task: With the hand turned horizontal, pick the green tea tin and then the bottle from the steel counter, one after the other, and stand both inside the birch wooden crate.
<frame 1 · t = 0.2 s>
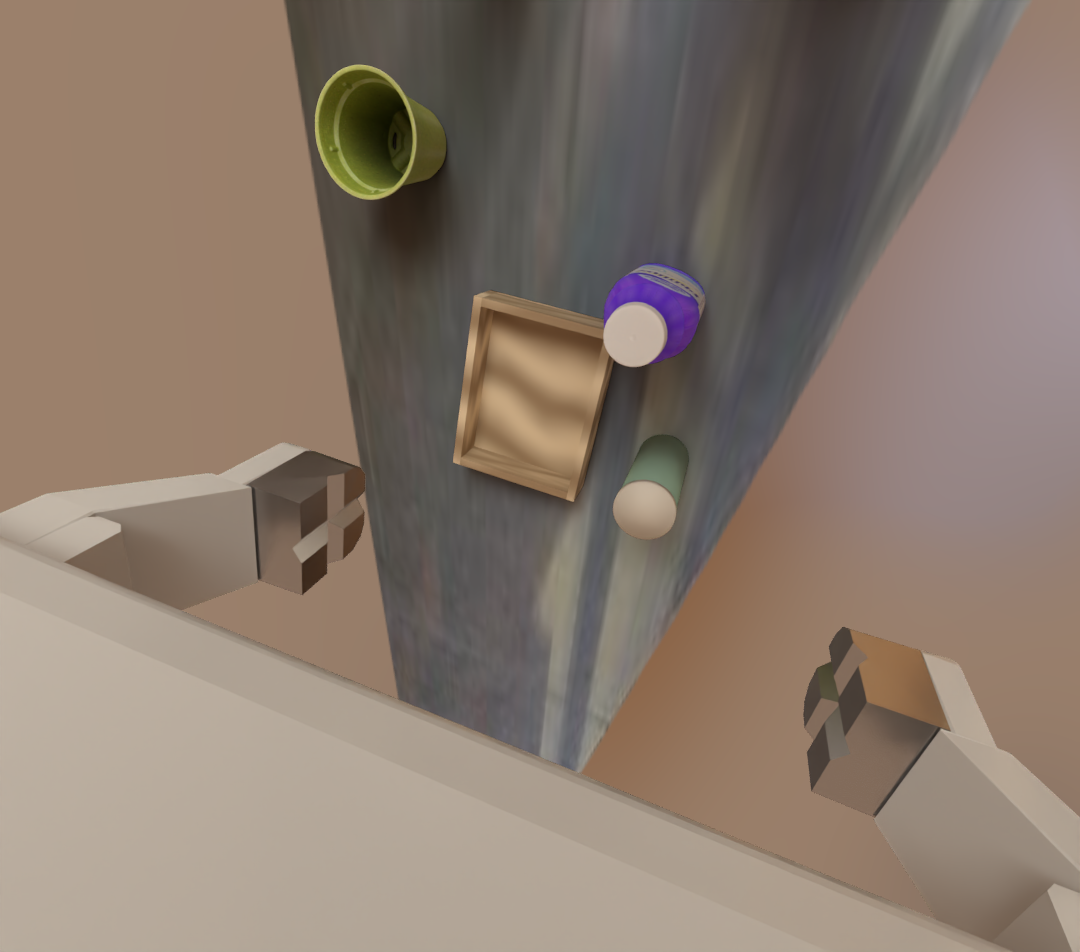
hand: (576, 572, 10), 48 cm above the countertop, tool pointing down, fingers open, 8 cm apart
plant pot: (418, 144, 55), on the countertop
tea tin: (663, 457, 60), on the countertop
crate: (539, 392, 61), on the countertop
bottle: (666, 298, 54), on the countertop
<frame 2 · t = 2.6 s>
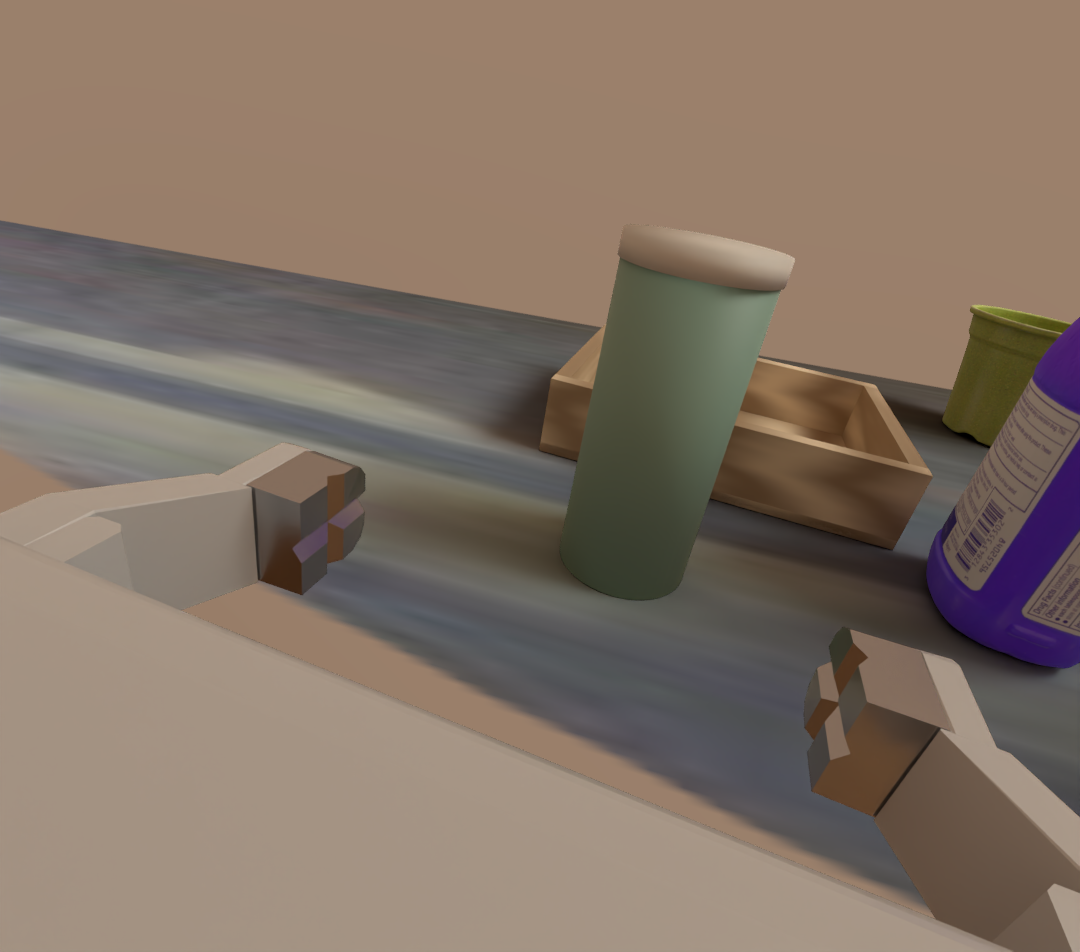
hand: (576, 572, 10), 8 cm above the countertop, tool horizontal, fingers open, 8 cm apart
plant pot: (983, 437, 45), on the countertop
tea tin: (620, 557, 24), on the countertop
crate: (712, 445, 35), on the countertop
bottle: (988, 618, 24), on the countertop
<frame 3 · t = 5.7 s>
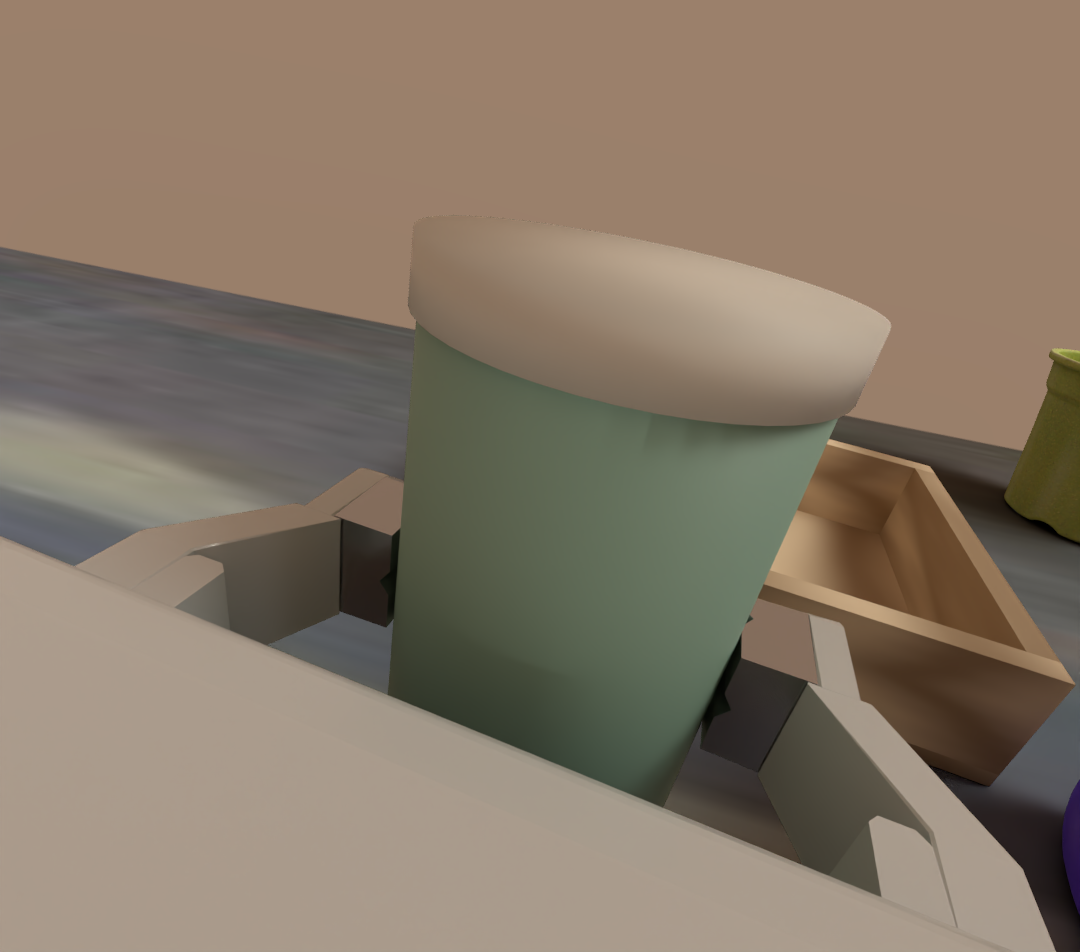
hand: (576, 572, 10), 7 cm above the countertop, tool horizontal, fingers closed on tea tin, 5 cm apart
plant pot: (1060, 524, 34), on the countertop
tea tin: (497, 859, 12), on the countertop, touching gripper
crate: (693, 556, 24), on the countertop
when the fingers open (9 cm above the countertop, at t = 10.8 s): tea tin drops 1 cm, resting on crate.
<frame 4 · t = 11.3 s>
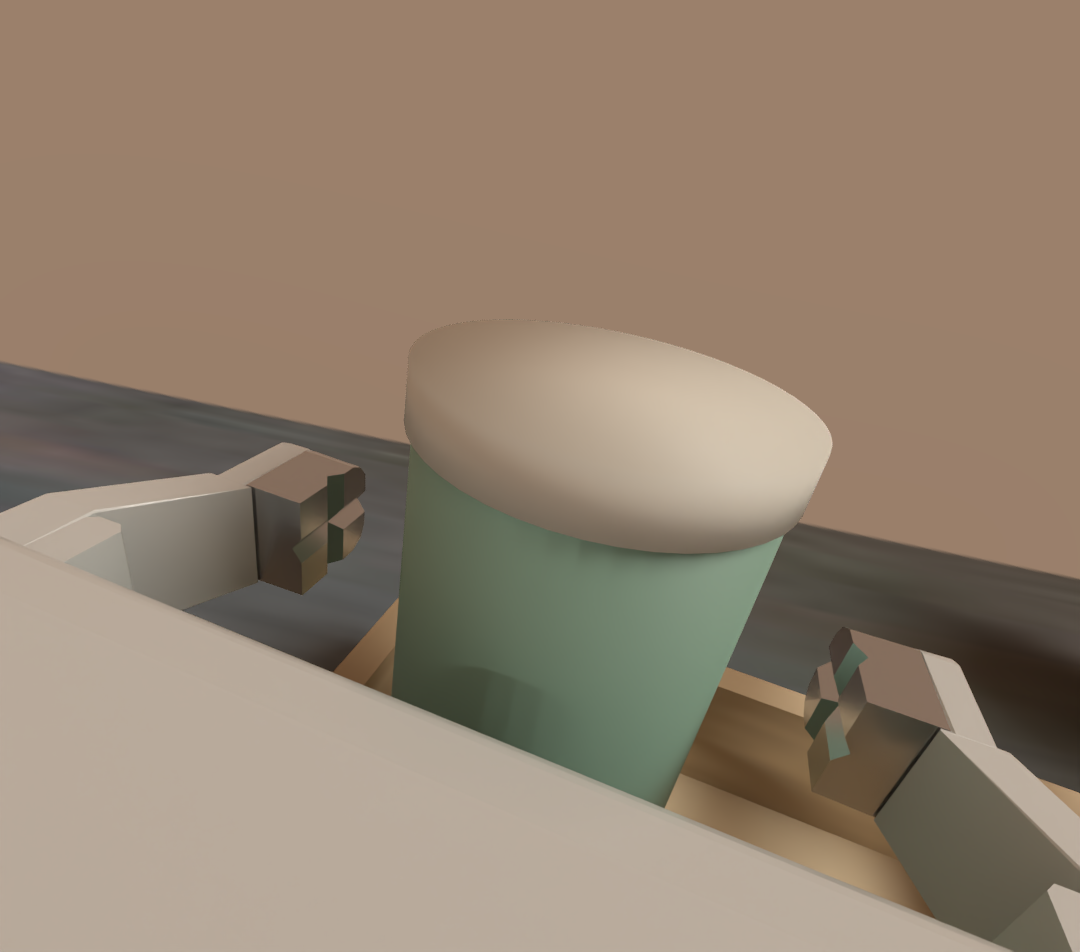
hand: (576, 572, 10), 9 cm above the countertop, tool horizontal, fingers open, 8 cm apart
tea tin: (491, 897, 13), point 1 cm above the countertop, touching crate
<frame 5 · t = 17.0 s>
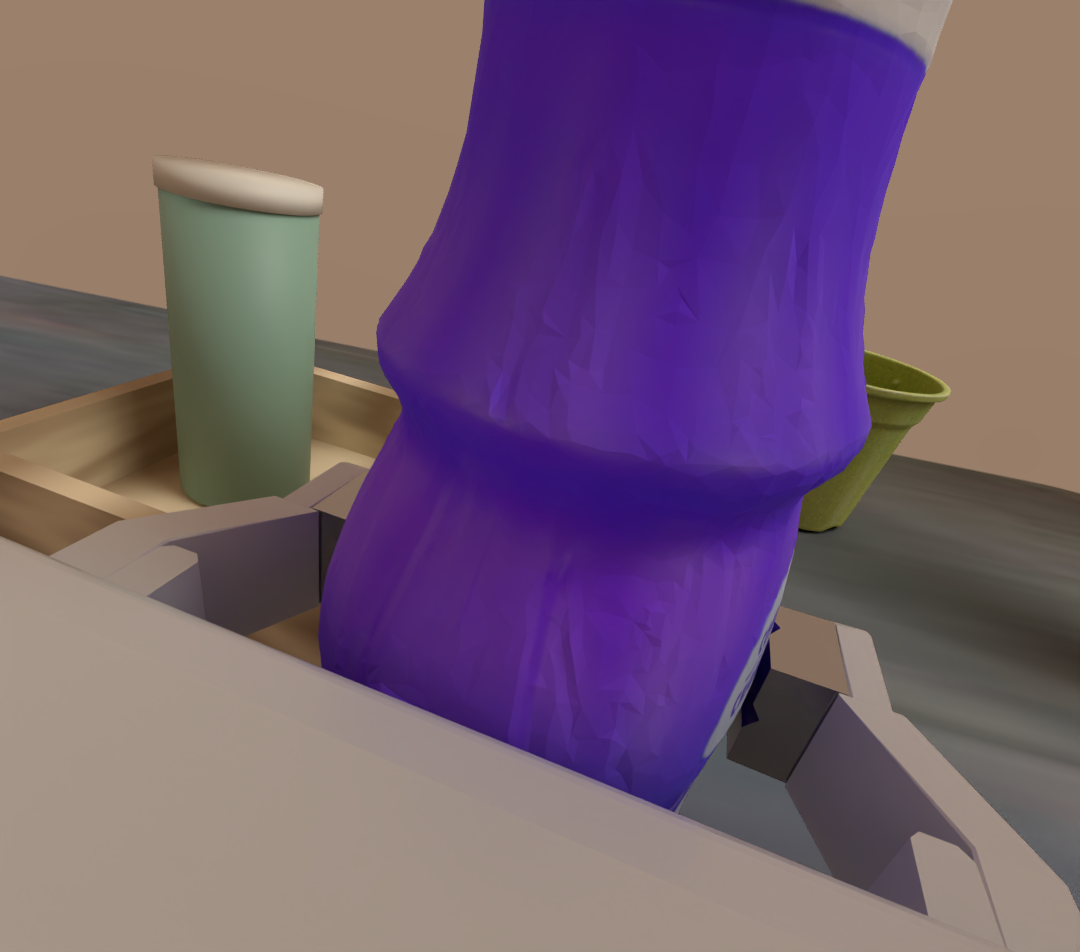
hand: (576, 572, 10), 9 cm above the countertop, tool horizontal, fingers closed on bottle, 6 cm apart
plant pot: (785, 506, 34), on the countertop
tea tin: (248, 479, 26), point 1 cm above the countertop, touching crate
crate: (311, 530, 24), on the countertop
bottle: (485, 914, 13), on the countertop, touching gripper
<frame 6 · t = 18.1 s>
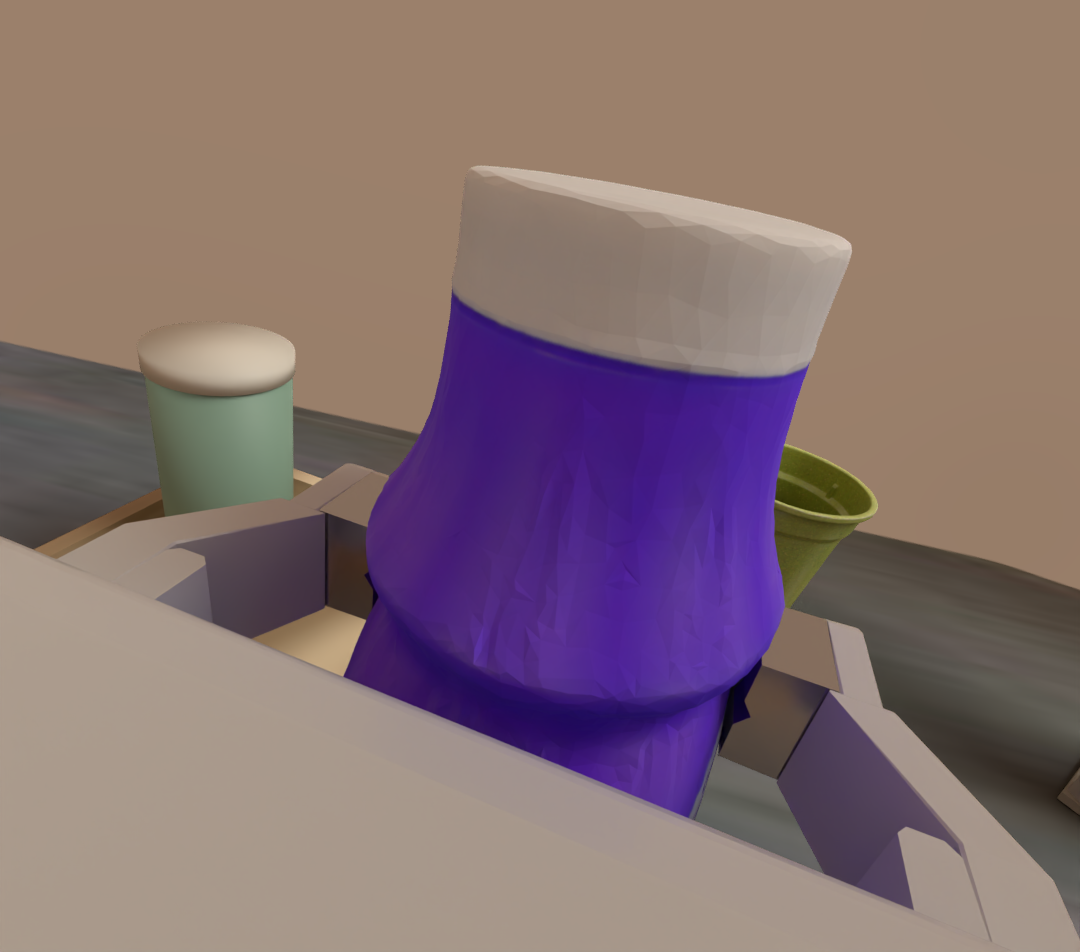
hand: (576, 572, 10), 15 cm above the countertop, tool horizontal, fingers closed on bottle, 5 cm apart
plant pot: (734, 593, 37), on the countertop
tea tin: (237, 586, 28), point 1 cm above the countertop, touching crate
crate: (294, 638, 27), on the countertop
when the fingers open (11 cm above the countertop, at t = 22.3 s): bottle stays where it is, resting on crate.
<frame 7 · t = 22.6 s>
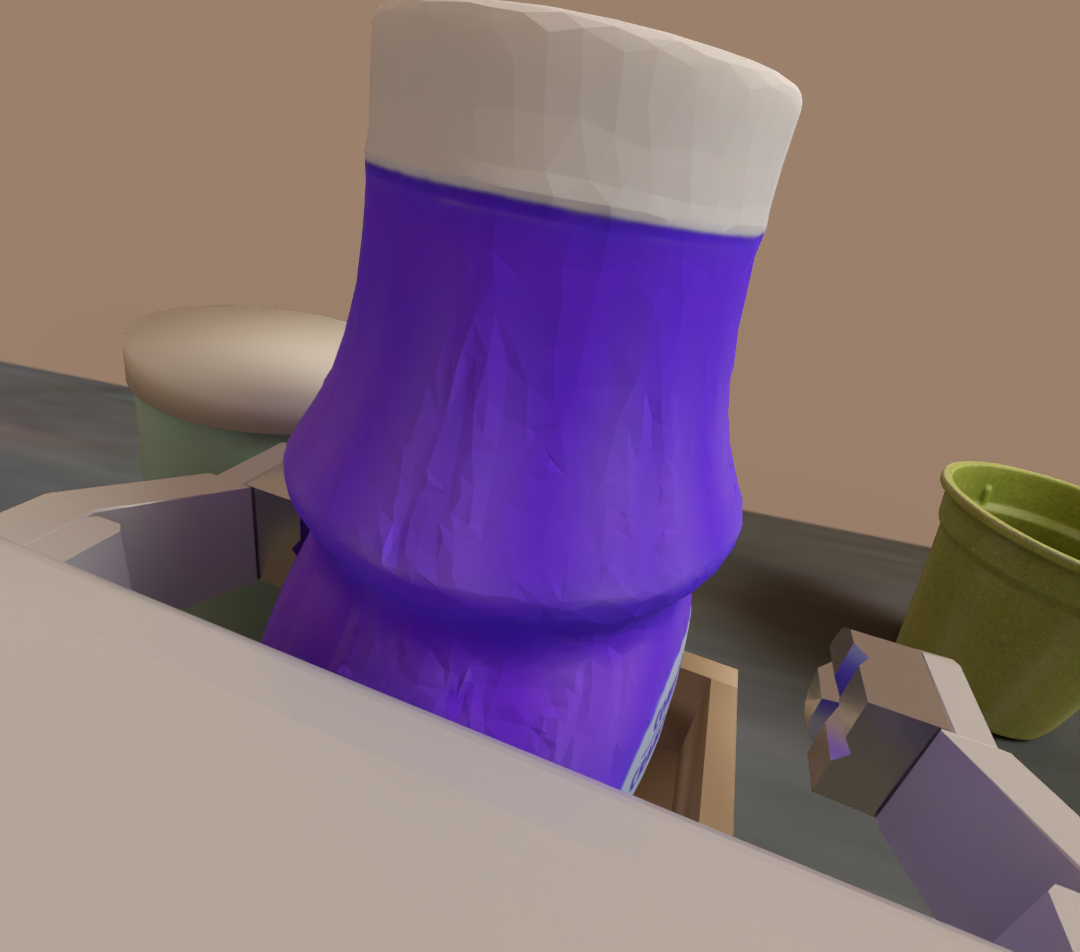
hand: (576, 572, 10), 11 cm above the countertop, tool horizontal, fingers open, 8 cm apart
plant pot: (963, 684, 26), on the countertop
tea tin: (271, 737, 18), point 1 cm above the countertop, touching crate, gripper
crate: (366, 828, 16), on the countertop
bottle: (438, 948, 14), resting on crate
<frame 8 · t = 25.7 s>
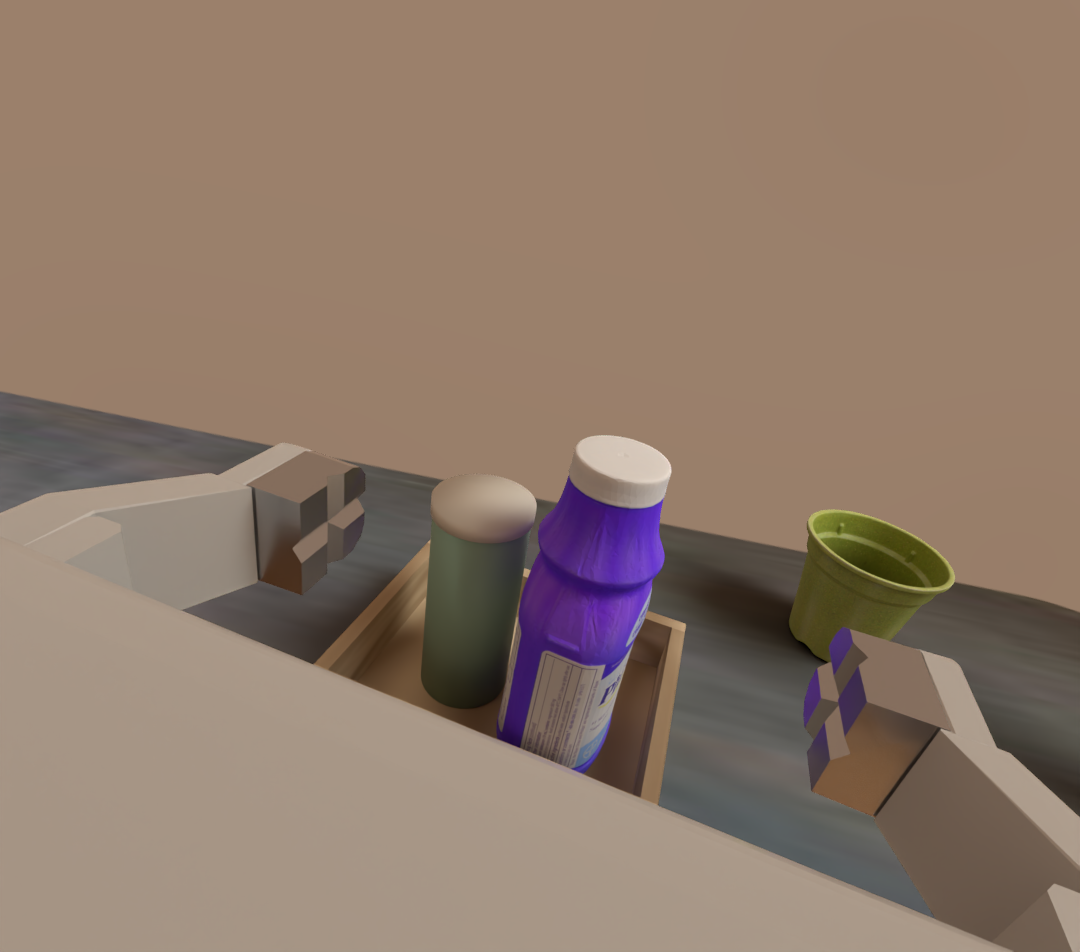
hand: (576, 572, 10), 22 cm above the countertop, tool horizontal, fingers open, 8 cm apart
plant pot: (827, 640, 45), on the countertop
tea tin: (463, 673, 35), point 1 cm above the countertop, touching crate
crate: (508, 695, 35), on the countertop
bottle: (549, 737, 32), resting on crate
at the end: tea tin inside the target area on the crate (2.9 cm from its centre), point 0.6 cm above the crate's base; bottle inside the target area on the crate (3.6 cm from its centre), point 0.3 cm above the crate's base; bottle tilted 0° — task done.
